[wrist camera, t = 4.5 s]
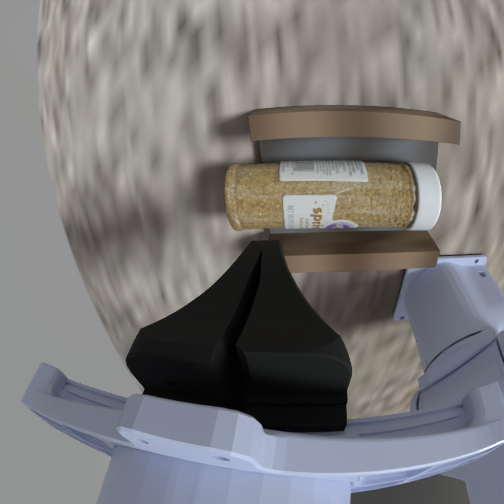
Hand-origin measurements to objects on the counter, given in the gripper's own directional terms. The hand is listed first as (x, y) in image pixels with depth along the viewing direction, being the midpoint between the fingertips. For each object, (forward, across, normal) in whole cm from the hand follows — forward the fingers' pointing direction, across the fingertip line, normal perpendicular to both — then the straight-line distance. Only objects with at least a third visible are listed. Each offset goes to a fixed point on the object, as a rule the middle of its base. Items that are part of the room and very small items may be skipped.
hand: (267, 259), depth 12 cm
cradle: (+9, -6, 0) cm, 11 cm away
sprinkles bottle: (+7, +3, 0) cm, 7 cm away
